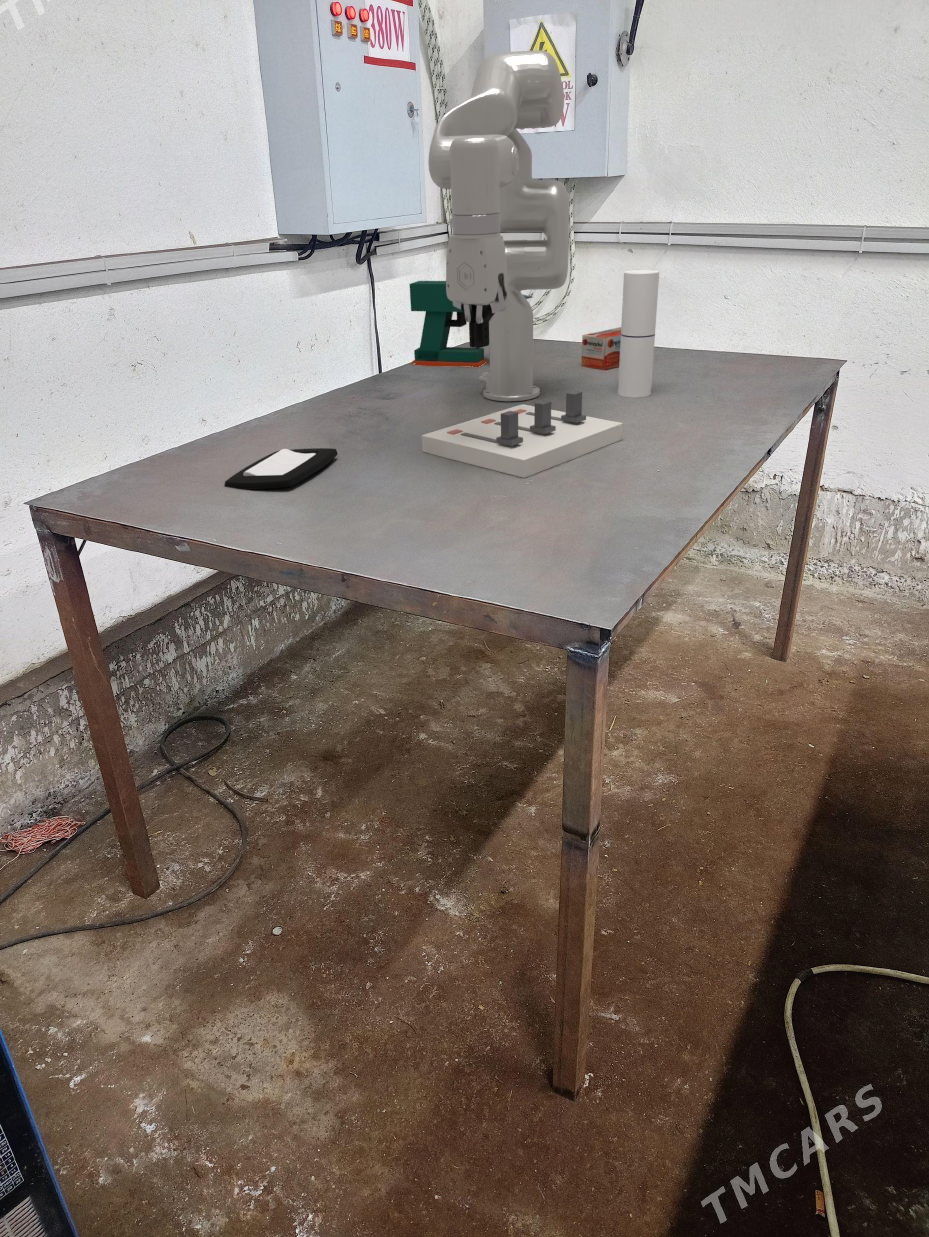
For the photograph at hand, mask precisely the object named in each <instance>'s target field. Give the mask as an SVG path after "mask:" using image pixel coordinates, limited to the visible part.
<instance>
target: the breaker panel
mask: <svg viewBox="0 0 929 1237" xmlns="http://www.w3.org/2000/svg"><path fill="white" fill-rule="evenodd" d="M508 411H514V412H518V437H523V442H522V443H519V444H516V445H514V446H510V445H506V444H502V443H497V442H496V438H497V437H500V436H501V413H505V412H508ZM565 414H566V411H559V410H555V409H551V425H553V426H556V431H553V432H550V433H547V434H543V433H538V432H534V431H530V426H532V425H534V417H535V405H534V406H533V405H529V404H525V403H524V404H519V405H515V406H512V407H509V408H506V409H503V410H499V411H496V412H493V413H490V414H487V415H483V416H480V417H477V418H476V417H475V418H473V419H470V420H467V421H464V422H460V423H457V424H454V425H451V426H447V427H443V428H441V429H438V430H435V431H431V432H428V433H425V434H422V435H421V446H422V447H421V448H422V452H423V453H425V454H430V455H432V456H433V455H434V456H438V457H441V458H445V459H449V460H454V461H458V462H460V463H465V464H469V465H472V466H477V467H479V468H480V467H481V468H484V469H488V470H492V471H495V472H499V473H500V472H501V473H503V474H507V475H511V476H516V477H518V478H524V479H525V478H528V477H530V476H534V475H535V474H537V473H540V472H543V471H546V470H548V469H551V468H553V467H555V466H559V465H560V464H563V463H566V462H568V461H571V460H573V459H576V458H578V457H581V456H583V455H586V454H588V453H591V452H594V451H597V450H599V449H602V448H603V447H607V446H609V445H611V444H614V443H617V442H619V441H621V440H623V433H624V432H623V431H624V423H623V422H619V421H614V420H613V421H612V420H608V419H602V418H597V417H592V416H588V415H586V420H584V421H581V422H578V423H574V422H569V421H564V420H561V416H562V415H565Z"/></svg>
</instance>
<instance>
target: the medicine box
mask: <svg viewBox="0 0 929 1237" xmlns="http://www.w3.org/2000/svg"><path fill="white" fill-rule="evenodd" d="M581 338H582V339H581V367H584V368H588V369H589V368H590V369H595V370H596V369H598V370H601V371H602V370H603V371H608V370H611V369H615V368H619V363H620V343H621V326H620V327H616V328H615V327H614V328H610V329H605V330H600V331H595V332H589V333H584V334H582V336H581Z"/></svg>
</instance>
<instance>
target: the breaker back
mask: <svg viewBox="0 0 929 1237" xmlns="http://www.w3.org/2000/svg"><path fill="white" fill-rule="evenodd" d="M565 394H566V396H565V412H566V414H565V415H562V416H561V420H564V421H569V422H574V423H578V422H581V421H584V420H586V416H587V415H586V414H583V413H582V411H583V410H582V409H583V391H579V390H572V391H569V392H566V393H565Z"/></svg>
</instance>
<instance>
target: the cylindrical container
mask: <svg viewBox="0 0 929 1237" xmlns="http://www.w3.org/2000/svg"><path fill="white" fill-rule="evenodd" d="M659 279H660V271H659V270H655V269H652V270H651V269H636V270H635V269H632V270H625V271H624V272H623V282H622V283H623V284H622V286H623V288H622V307H621V308H622V309H621V324H620V325H621V326H620V327H621V343H620V363H619V367H618V386H617V395H618V396H620V397H624V398H631V399H632V398H633V399H634V398H635V399H636V398H637V399H638V398H646V397H649V396H651V394H652V385H653V372H654V371H653V368H654V355H655V341H656V339H655V338H656V324H657V311H658V310H657V309H658V307H657V306H658V297H659V296H658V294H659V284H660V283H659V281H660V280H659Z"/></svg>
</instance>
